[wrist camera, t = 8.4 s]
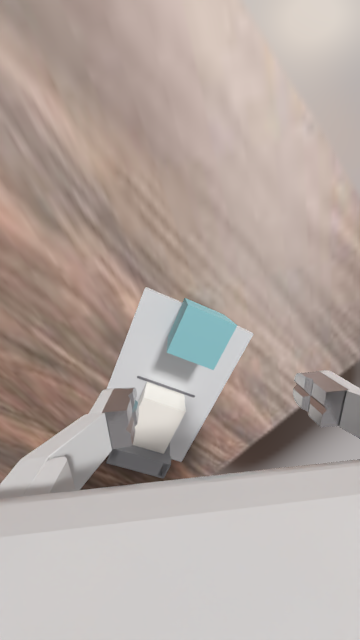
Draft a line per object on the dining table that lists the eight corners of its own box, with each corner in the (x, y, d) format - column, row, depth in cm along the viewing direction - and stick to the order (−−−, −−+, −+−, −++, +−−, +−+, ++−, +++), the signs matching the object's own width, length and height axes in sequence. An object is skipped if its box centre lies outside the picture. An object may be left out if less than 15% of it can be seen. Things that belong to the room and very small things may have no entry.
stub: (205, 351, 21) (213, 370, 17) (167, 336, 21) (166, 352, 16) (223, 314, 20) (237, 325, 16) (184, 297, 20) (188, 304, 15)
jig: (181, 455, 27) (182, 494, 22) (92, 429, 25) (73, 466, 20) (249, 331, 22) (271, 347, 17) (146, 287, 20) (138, 291, 15)
